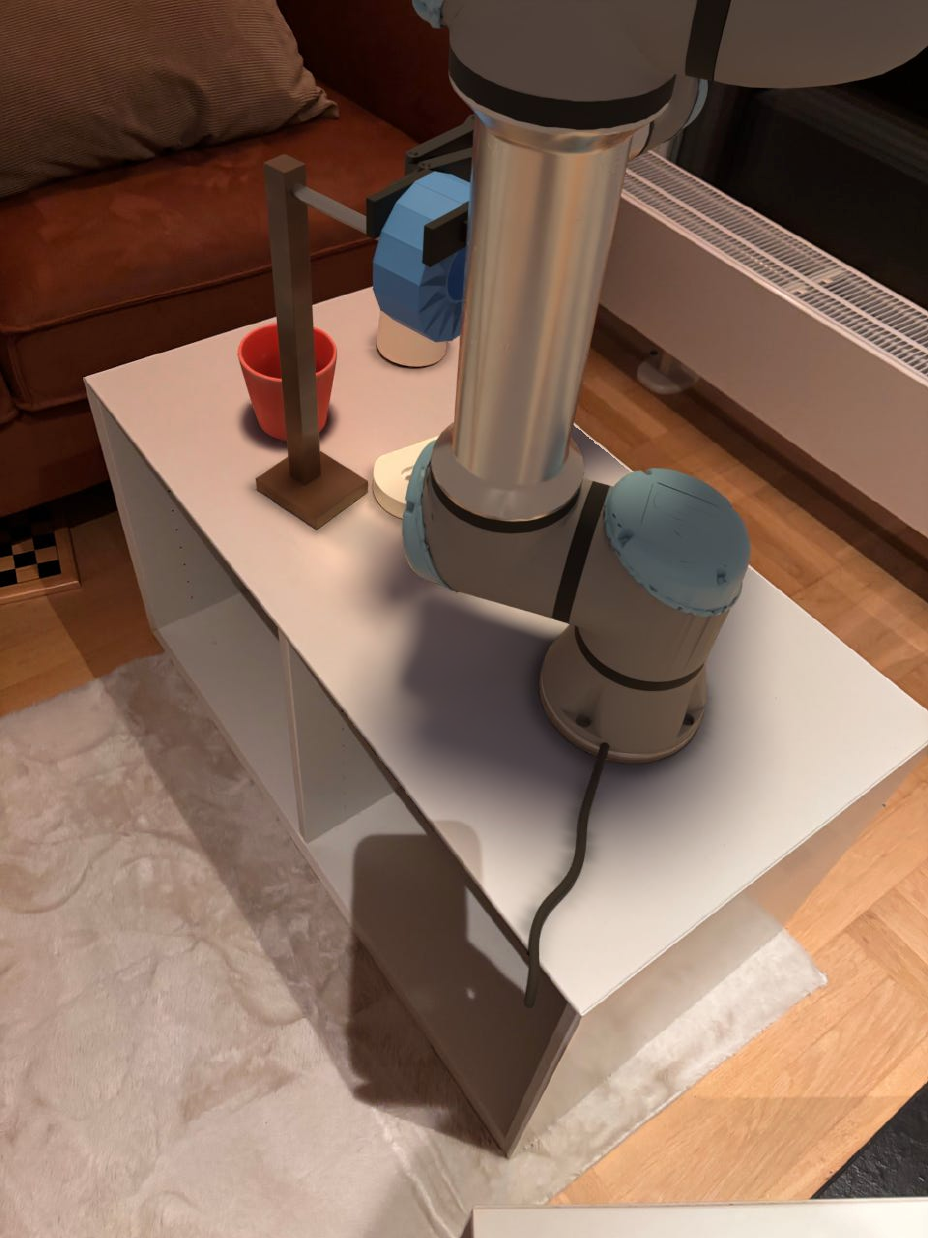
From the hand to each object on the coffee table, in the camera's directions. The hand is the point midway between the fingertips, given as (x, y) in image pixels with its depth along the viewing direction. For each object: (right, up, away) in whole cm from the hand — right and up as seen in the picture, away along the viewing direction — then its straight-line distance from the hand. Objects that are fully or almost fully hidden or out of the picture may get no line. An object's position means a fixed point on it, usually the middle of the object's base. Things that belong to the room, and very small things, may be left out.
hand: (398, 232), depth 64 cm
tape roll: (+3, 0, +6) cm, 7 cm away
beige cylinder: (-1, +16, +48) cm, 51 cm away
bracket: (+4, -10, +41) cm, 42 cm away
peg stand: (-9, -15, +36) cm, 40 cm away
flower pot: (-15, -4, +44) cm, 47 cm away
